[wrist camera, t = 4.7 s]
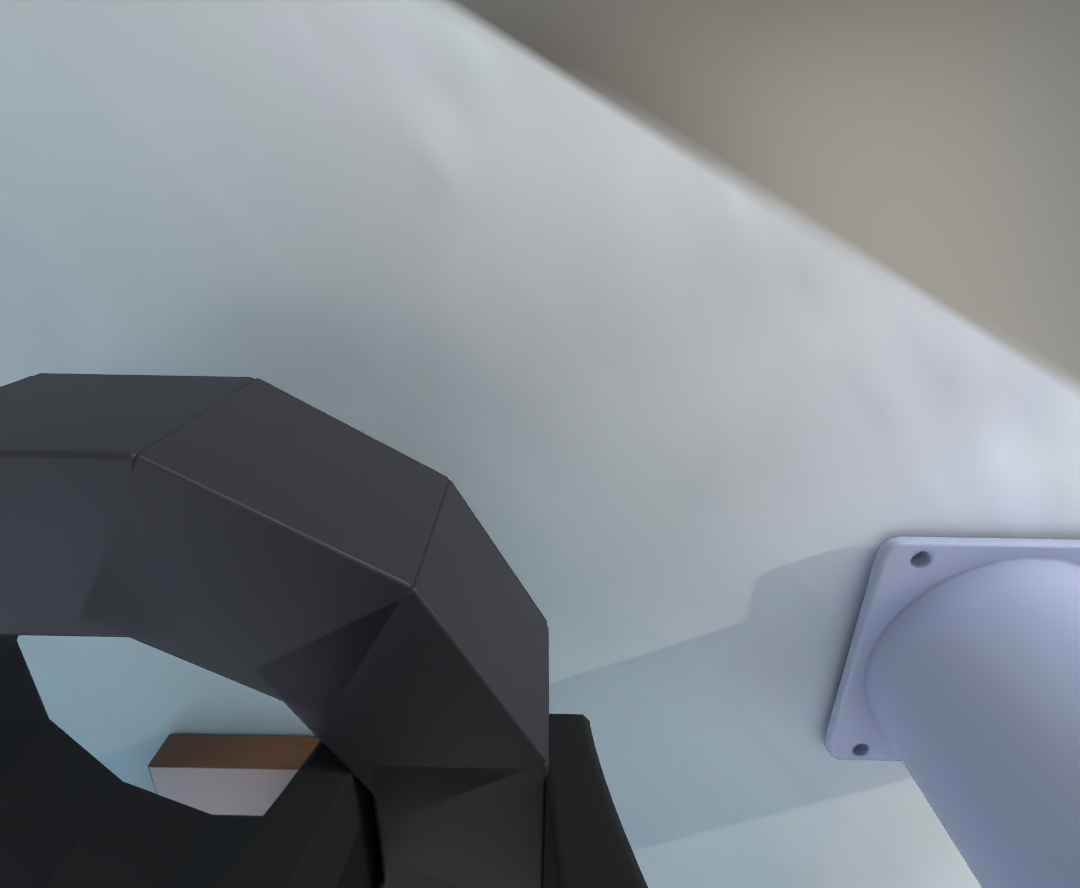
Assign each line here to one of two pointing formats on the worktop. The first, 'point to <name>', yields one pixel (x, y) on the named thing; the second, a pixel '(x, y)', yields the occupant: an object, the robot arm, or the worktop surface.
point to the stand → (228, 770)
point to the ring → (263, 626)
